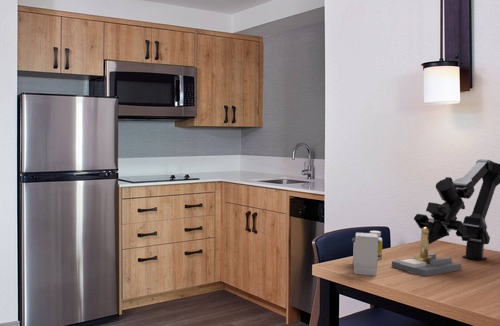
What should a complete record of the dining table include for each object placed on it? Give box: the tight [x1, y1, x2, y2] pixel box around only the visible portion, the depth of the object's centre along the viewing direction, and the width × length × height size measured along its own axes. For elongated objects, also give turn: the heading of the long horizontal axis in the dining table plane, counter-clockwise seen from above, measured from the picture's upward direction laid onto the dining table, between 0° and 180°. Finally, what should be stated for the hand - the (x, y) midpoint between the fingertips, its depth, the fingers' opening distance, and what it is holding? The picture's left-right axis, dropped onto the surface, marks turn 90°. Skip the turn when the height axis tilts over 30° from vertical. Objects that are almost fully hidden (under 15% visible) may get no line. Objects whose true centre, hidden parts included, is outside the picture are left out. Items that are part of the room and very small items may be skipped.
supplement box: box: [353, 232, 378, 277], centre depth 180 cm, size 7×7×13 cm
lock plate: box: [391, 253, 462, 277], centre depth 188 cm, size 19×14×4 cm
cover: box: [399, 258, 426, 268], centre depth 184 cm, size 6×6×1 cm
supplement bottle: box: [369, 230, 383, 260], centre depth 202 cm, size 5×5×10 cm
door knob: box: [414, 227, 432, 264], centre depth 187 cm, size 5×3×12 cm, turn 124°
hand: (427, 243), depth 188 cm, fingers closed, pressing on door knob
